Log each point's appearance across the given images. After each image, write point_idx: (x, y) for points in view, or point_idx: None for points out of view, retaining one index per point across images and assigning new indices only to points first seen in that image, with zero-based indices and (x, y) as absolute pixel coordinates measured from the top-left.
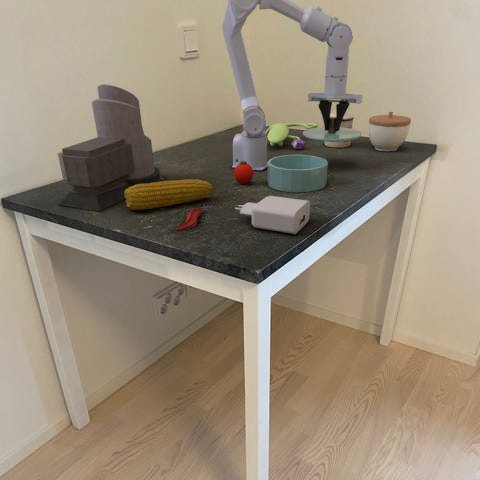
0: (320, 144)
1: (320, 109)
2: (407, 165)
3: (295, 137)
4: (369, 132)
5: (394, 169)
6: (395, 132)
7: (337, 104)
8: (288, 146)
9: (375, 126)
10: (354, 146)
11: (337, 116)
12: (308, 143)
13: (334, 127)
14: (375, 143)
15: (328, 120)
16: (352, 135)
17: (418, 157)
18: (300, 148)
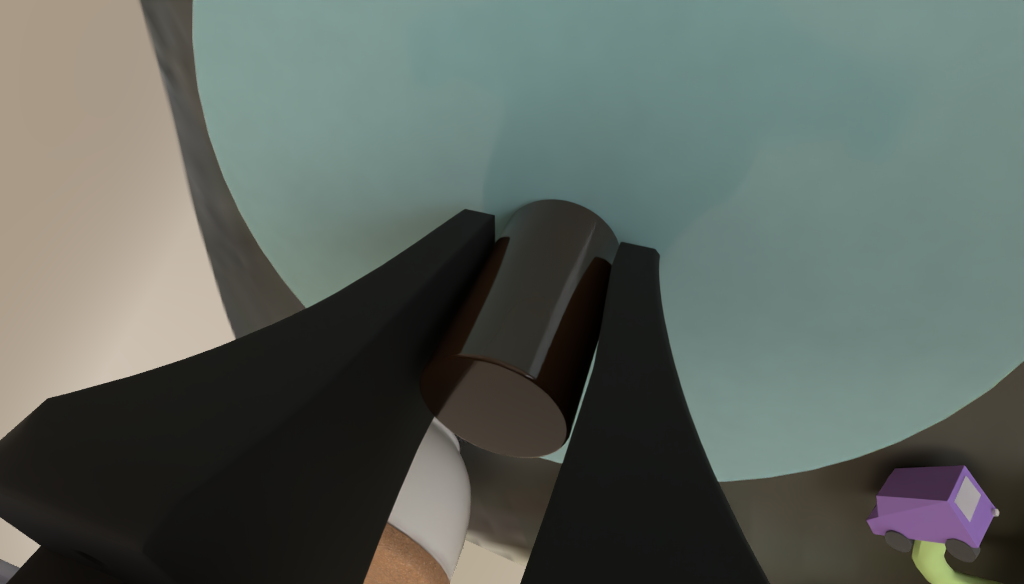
0: (747, 525)
1: (746, 577)
2: (191, 174)
3: (969, 558)
4: (449, 506)
5: (191, 70)
6: None
7: (123, 548)
8: (996, 529)
9: (390, 515)
10: (556, 474)
11: (348, 335)
12: (826, 550)
13: (493, 256)
14: (426, 436)
15: (580, 374)
16: (264, 114)
17: (235, 312)
18: (902, 471)
